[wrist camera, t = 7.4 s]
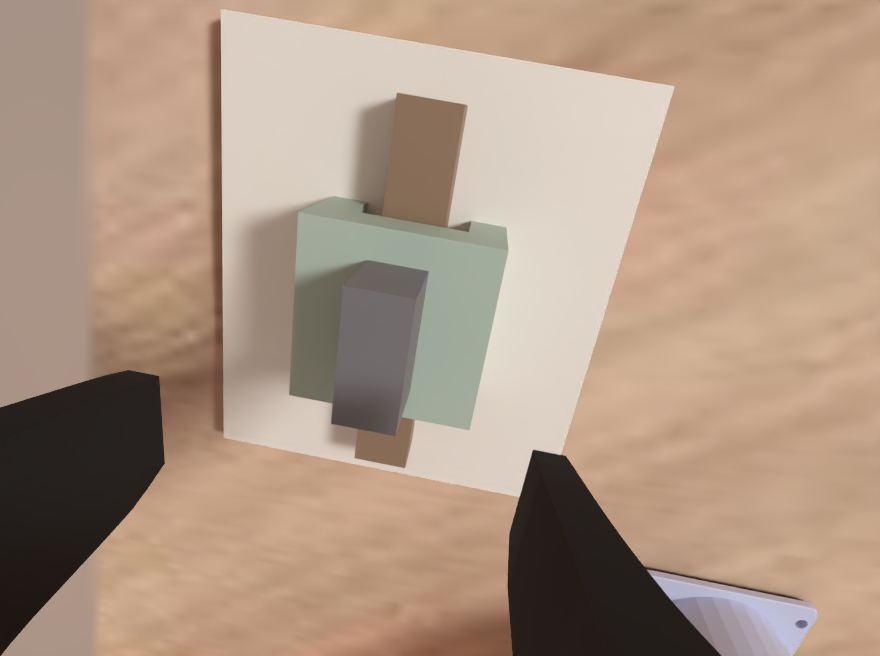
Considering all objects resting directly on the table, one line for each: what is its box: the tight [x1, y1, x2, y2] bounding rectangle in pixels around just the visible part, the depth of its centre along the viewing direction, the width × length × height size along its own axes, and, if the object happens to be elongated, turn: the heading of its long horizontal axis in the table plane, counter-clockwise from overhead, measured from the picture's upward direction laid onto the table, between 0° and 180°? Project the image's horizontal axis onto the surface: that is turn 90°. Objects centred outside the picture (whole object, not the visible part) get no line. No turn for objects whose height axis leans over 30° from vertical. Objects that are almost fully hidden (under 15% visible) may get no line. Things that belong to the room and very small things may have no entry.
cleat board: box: [221, 9, 675, 497], centre depth 18 cm, size 16×14×2 cm
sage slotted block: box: [289, 196, 509, 436], centre depth 16 cm, size 6×6×6 cm
